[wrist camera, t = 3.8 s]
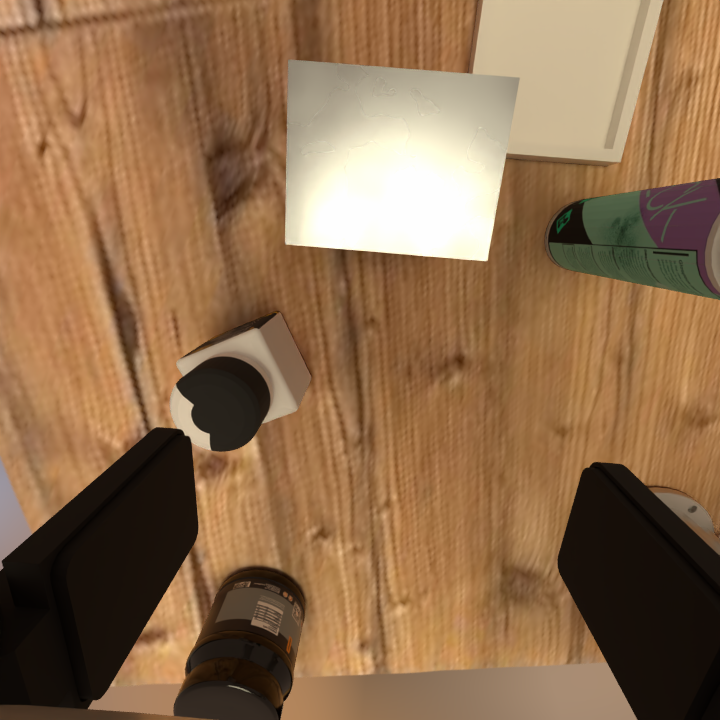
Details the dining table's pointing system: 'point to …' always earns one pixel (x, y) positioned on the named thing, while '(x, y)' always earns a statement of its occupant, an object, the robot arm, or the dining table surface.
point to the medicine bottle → (238, 384)
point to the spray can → (644, 237)
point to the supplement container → (245, 650)
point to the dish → (567, 72)
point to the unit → (395, 158)
